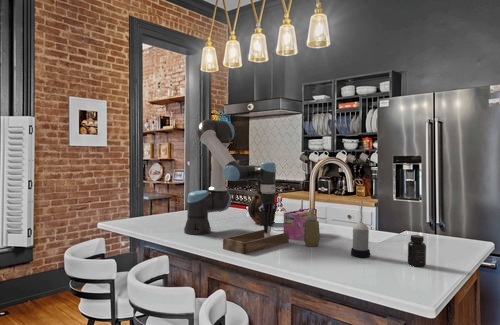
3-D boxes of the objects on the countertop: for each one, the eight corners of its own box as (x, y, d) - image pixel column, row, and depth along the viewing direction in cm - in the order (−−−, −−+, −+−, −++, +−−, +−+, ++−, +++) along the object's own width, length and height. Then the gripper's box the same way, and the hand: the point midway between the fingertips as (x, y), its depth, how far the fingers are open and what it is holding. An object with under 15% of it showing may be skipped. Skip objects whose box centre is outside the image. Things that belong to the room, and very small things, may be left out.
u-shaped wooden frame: (222, 248, 172) (223, 238, 172) (267, 237, 196) (267, 228, 196) (244, 254, 163) (244, 243, 162) (288, 242, 187) (288, 232, 187)
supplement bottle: (404, 262, 153) (404, 234, 153) (419, 262, 153) (420, 234, 153) (413, 267, 146) (413, 237, 146) (429, 267, 147) (429, 237, 146)
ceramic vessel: (262, 219, 255) (262, 176, 254) (282, 222, 243) (283, 177, 242) (241, 223, 239) (242, 177, 239) (261, 226, 227) (262, 178, 227)
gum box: (306, 231, 216) (306, 208, 216) (318, 233, 211) (318, 209, 211) (282, 237, 198) (283, 212, 198) (295, 240, 193) (295, 214, 192)
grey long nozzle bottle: (373, 256, 163) (374, 200, 163) (364, 259, 157) (365, 201, 157) (356, 252, 169) (357, 198, 168) (347, 255, 163) (348, 199, 163)
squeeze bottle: (321, 244, 184) (321, 208, 183) (318, 248, 176) (319, 210, 176) (305, 242, 186) (305, 207, 186) (302, 246, 179) (302, 209, 178)
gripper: (265, 194, 178) (264, 242, 178) (281, 192, 187) (280, 238, 188) (253, 192, 183) (253, 239, 183) (270, 191, 192) (269, 236, 193)
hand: (267, 239), depth 185 cm, fingers closed
